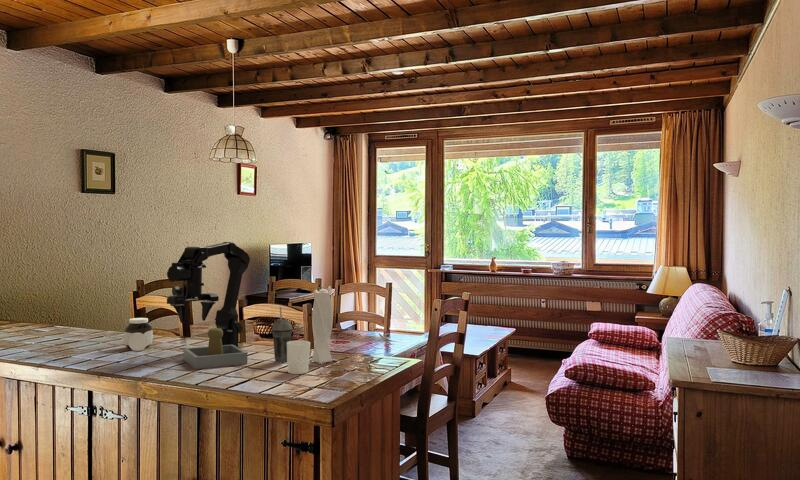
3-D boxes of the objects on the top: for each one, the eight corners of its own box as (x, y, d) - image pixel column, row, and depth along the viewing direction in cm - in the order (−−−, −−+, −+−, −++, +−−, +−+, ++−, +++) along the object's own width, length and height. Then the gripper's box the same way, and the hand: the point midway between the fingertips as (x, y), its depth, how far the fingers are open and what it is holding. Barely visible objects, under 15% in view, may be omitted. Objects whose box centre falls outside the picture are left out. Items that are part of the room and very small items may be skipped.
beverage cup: (295, 360, 211) (296, 306, 211) (283, 364, 205) (284, 308, 205) (279, 358, 214) (280, 305, 214) (267, 362, 208) (268, 307, 208)
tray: (232, 354, 220) (232, 344, 220) (247, 363, 205) (247, 352, 205) (183, 359, 210) (183, 348, 210) (194, 369, 195) (195, 357, 195)
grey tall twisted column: (338, 362, 210) (339, 285, 210) (320, 365, 205) (321, 286, 205) (324, 358, 216) (325, 284, 216) (306, 361, 211) (307, 285, 211)
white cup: (298, 375, 188) (299, 345, 188) (281, 372, 193) (281, 342, 193) (314, 371, 195) (315, 342, 195) (297, 368, 199) (297, 339, 199)
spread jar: (143, 345, 237) (143, 316, 237) (161, 348, 231) (161, 319, 231) (116, 349, 227) (116, 320, 227) (133, 352, 221) (134, 322, 221)
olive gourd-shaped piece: (226, 357, 210) (227, 327, 210) (219, 360, 204) (220, 329, 204) (210, 356, 211) (211, 326, 211) (203, 360, 205) (203, 329, 205)
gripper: (202, 278, 228) (201, 317, 228) (158, 280, 213) (157, 322, 213) (219, 279, 222) (219, 320, 222) (176, 281, 207) (175, 325, 207)
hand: (193, 321), depth 216 cm, fingers open, 9 cm apart
